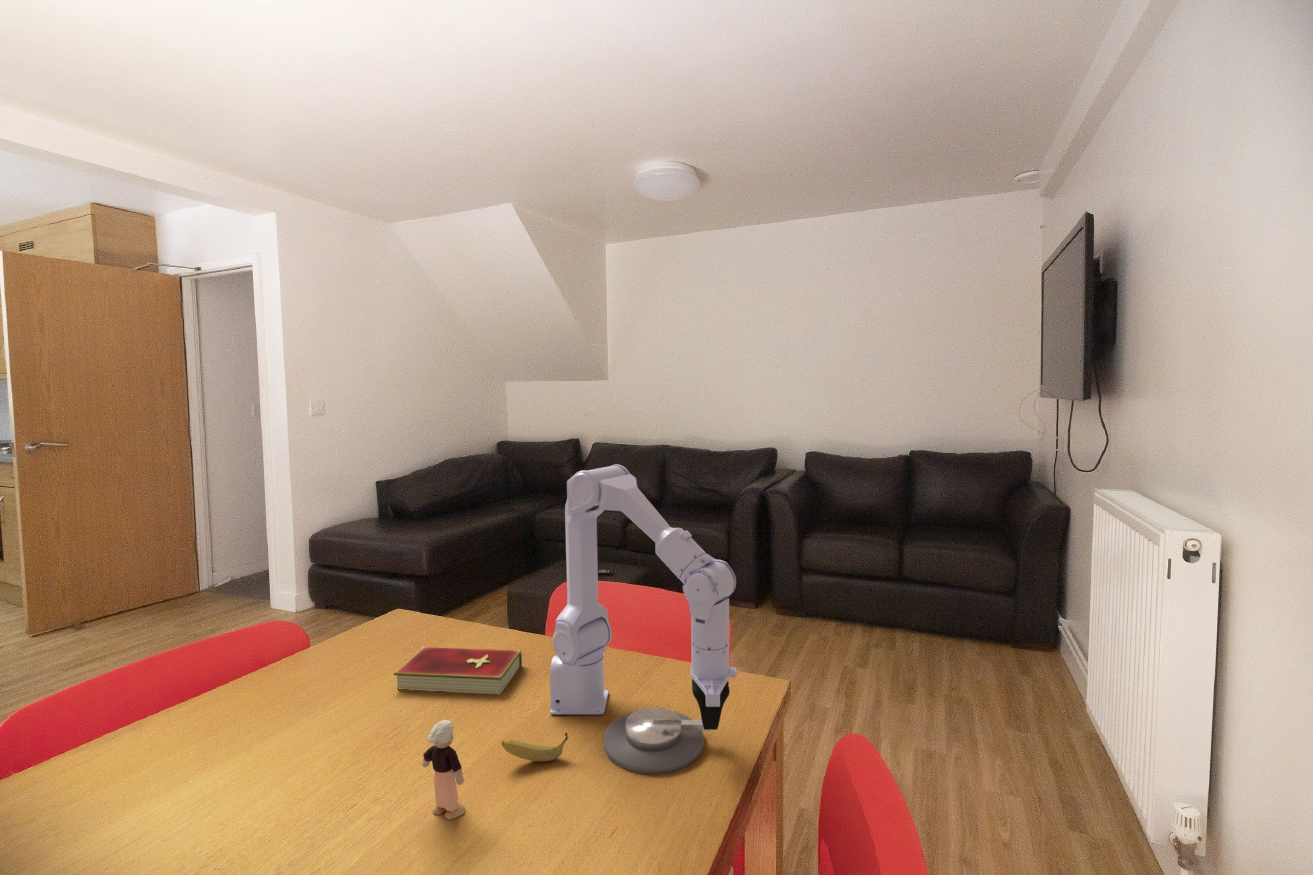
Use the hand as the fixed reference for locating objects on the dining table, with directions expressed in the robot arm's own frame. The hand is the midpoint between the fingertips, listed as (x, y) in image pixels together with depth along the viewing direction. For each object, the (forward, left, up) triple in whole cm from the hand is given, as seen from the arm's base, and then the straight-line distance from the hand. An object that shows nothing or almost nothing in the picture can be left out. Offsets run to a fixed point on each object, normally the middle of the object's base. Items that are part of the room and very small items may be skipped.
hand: (710, 727), depth 97 cm
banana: (-27, -1, -5) cm, 28 cm away
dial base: (-9, +4, -5) cm, 11 cm away
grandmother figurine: (-37, -12, -5) cm, 39 cm away
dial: (-6, +4, -3) cm, 8 cm away
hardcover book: (-48, +25, -6) cm, 55 cm away
